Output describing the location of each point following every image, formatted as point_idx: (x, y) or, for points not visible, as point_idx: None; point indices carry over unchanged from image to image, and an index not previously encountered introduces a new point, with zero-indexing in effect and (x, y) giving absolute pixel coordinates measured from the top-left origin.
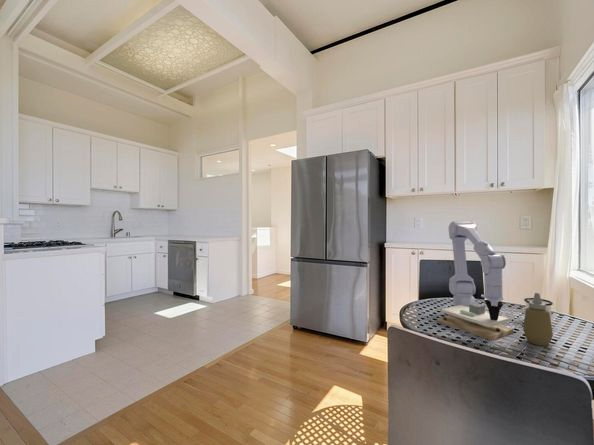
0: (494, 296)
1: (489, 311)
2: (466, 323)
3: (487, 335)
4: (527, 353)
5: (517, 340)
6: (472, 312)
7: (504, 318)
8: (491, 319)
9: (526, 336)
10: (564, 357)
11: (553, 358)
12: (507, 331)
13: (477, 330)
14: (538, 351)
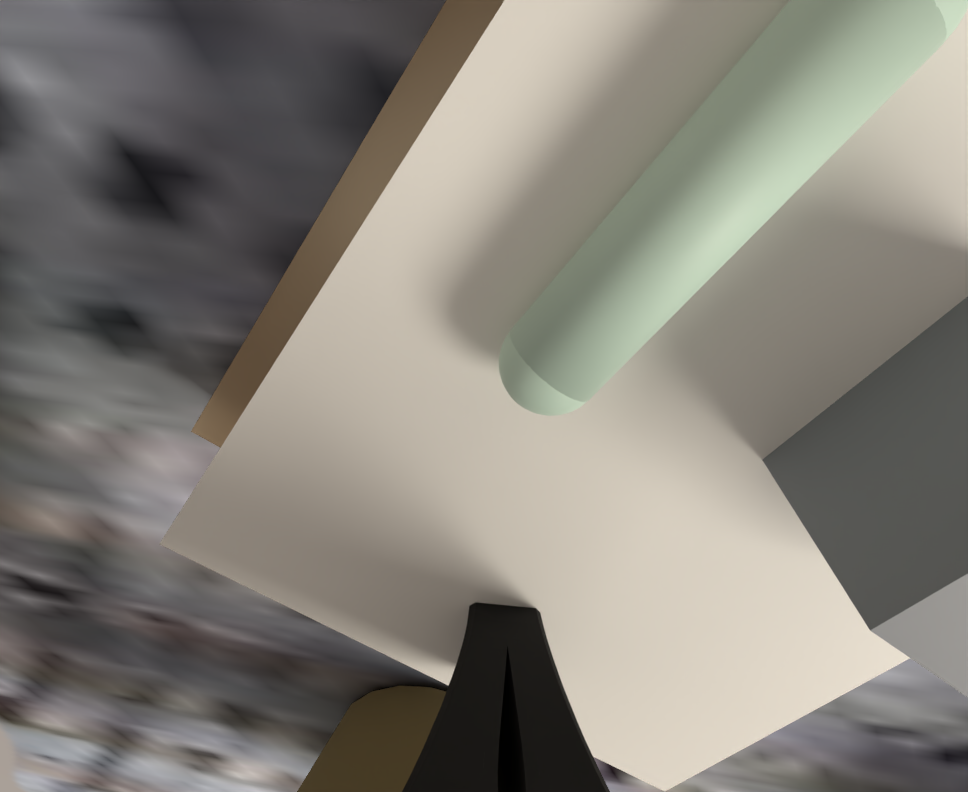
0: None
1: (413, 771)
2: None
3: (209, 400)
4: (91, 624)
5: None
6: (915, 347)
7: (637, 754)
8: (468, 615)
9: (378, 727)
10: (202, 776)
11: (127, 730)
12: None
13: None
14: (207, 691)
